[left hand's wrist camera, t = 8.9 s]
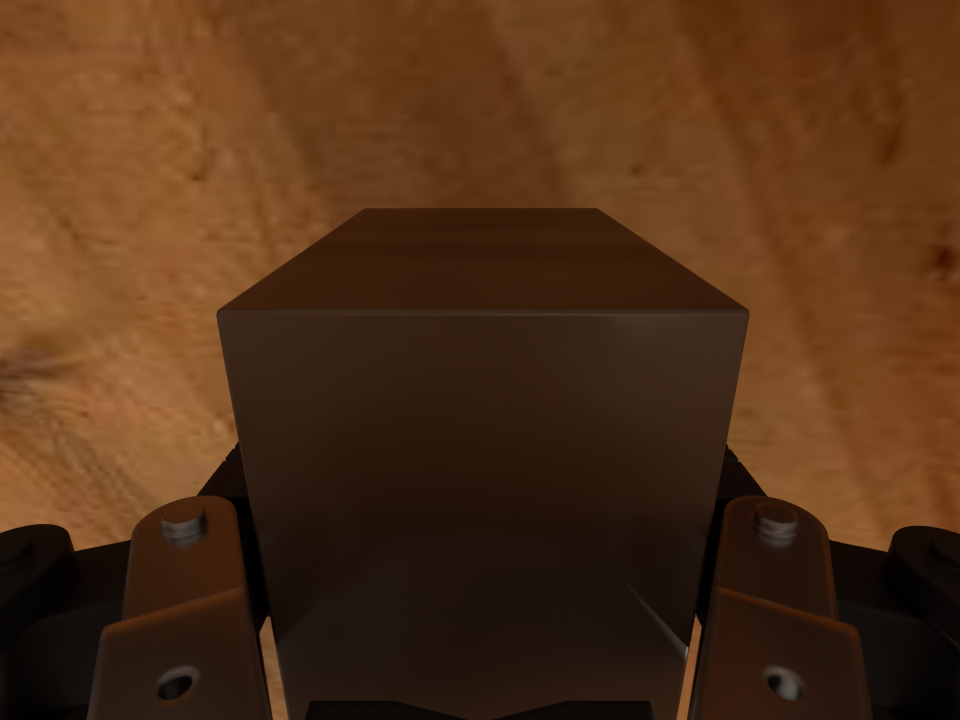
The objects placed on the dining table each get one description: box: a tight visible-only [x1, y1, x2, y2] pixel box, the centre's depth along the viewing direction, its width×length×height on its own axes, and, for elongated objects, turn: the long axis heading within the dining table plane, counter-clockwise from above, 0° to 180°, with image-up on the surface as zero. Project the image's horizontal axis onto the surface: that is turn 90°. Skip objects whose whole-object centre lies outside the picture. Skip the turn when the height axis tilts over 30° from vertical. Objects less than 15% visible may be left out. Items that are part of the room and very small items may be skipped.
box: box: [216, 208, 749, 720], centre depth 14 cm, size 21×6×9 cm, turn 0°
